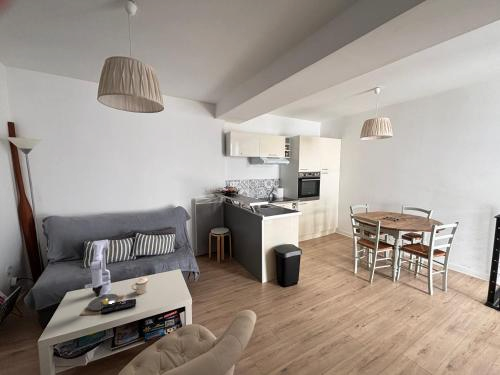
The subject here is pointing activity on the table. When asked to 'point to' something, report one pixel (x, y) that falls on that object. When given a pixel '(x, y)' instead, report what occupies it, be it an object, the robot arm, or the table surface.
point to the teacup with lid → (141, 286)
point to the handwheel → (102, 302)
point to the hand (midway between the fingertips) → (98, 296)
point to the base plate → (89, 312)
